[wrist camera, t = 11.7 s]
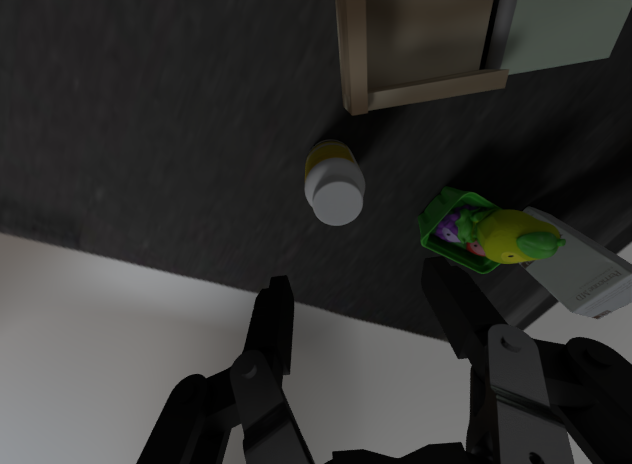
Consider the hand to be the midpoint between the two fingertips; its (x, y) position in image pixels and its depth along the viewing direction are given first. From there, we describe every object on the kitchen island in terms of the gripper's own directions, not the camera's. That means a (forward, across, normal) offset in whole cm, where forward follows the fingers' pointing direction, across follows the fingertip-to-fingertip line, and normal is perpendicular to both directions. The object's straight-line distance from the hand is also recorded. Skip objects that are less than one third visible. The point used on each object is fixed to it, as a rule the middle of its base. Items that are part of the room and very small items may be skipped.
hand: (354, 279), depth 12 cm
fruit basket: (+18, -16, +9) cm, 26 cm away
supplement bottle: (+18, 0, 0) cm, 18 cm away
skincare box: (+18, -25, +13) cm, 33 cm away
